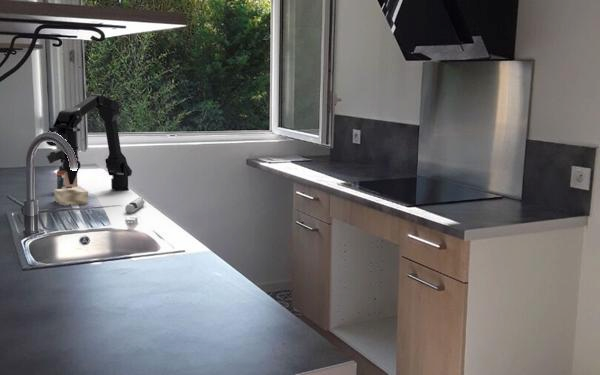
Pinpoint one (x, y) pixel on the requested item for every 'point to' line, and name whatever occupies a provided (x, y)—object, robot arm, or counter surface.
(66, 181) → the terracotta cube
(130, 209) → the torpedo
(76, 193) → the beech block
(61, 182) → the supplement bottle
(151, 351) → the counter surface
